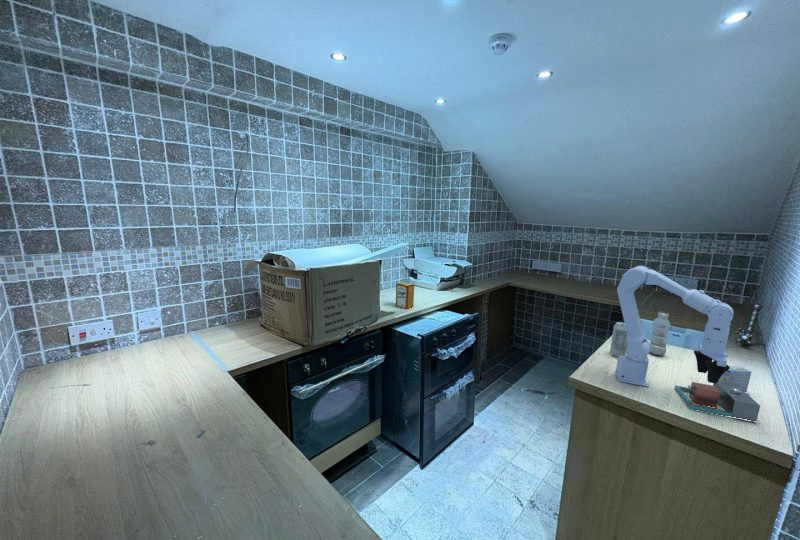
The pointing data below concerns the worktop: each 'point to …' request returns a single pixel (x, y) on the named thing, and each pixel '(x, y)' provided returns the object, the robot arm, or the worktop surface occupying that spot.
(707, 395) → the brown wooden block
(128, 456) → the worktop surface
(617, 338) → the energy drink can
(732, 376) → the medicine box
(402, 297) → the baking soda box
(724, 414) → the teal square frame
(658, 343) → the plastic bottle
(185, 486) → the worktop surface
